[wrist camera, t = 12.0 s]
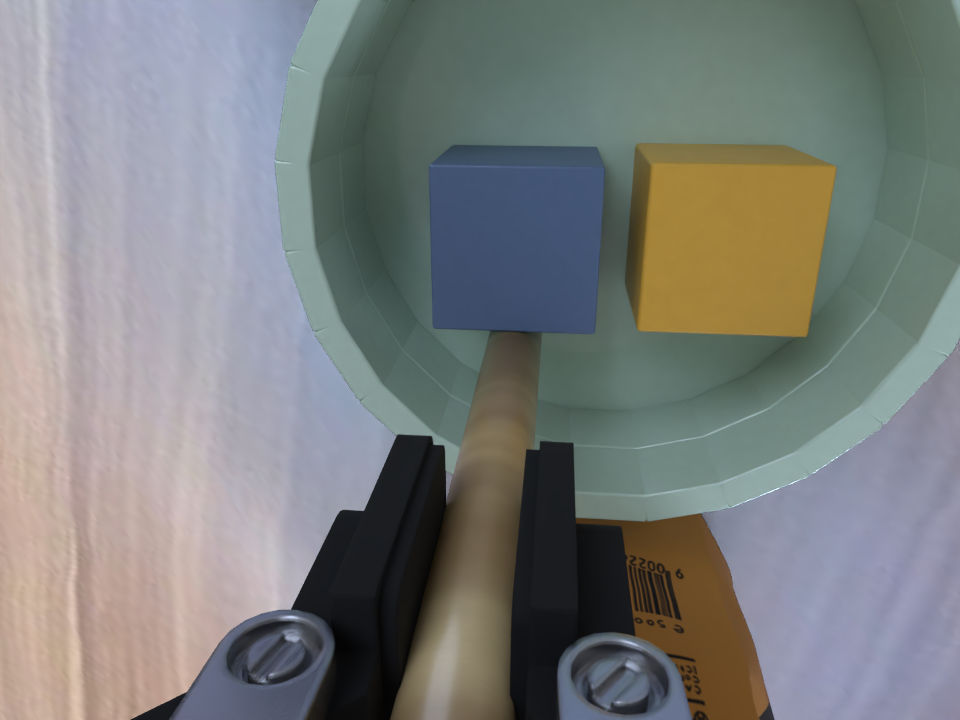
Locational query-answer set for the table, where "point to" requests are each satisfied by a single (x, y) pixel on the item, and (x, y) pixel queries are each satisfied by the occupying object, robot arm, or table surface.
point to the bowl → (615, 132)
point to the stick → (477, 550)
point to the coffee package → (693, 615)
